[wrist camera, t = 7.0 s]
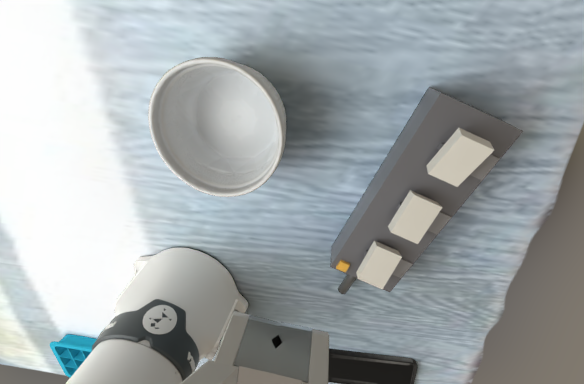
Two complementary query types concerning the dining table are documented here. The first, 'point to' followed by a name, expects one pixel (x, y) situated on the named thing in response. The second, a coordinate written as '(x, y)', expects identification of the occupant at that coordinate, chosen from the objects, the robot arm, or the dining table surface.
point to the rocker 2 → (414, 217)
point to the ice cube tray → (72, 352)
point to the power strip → (416, 183)
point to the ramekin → (218, 125)
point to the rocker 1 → (378, 265)
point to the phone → (369, 368)
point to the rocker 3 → (459, 157)
